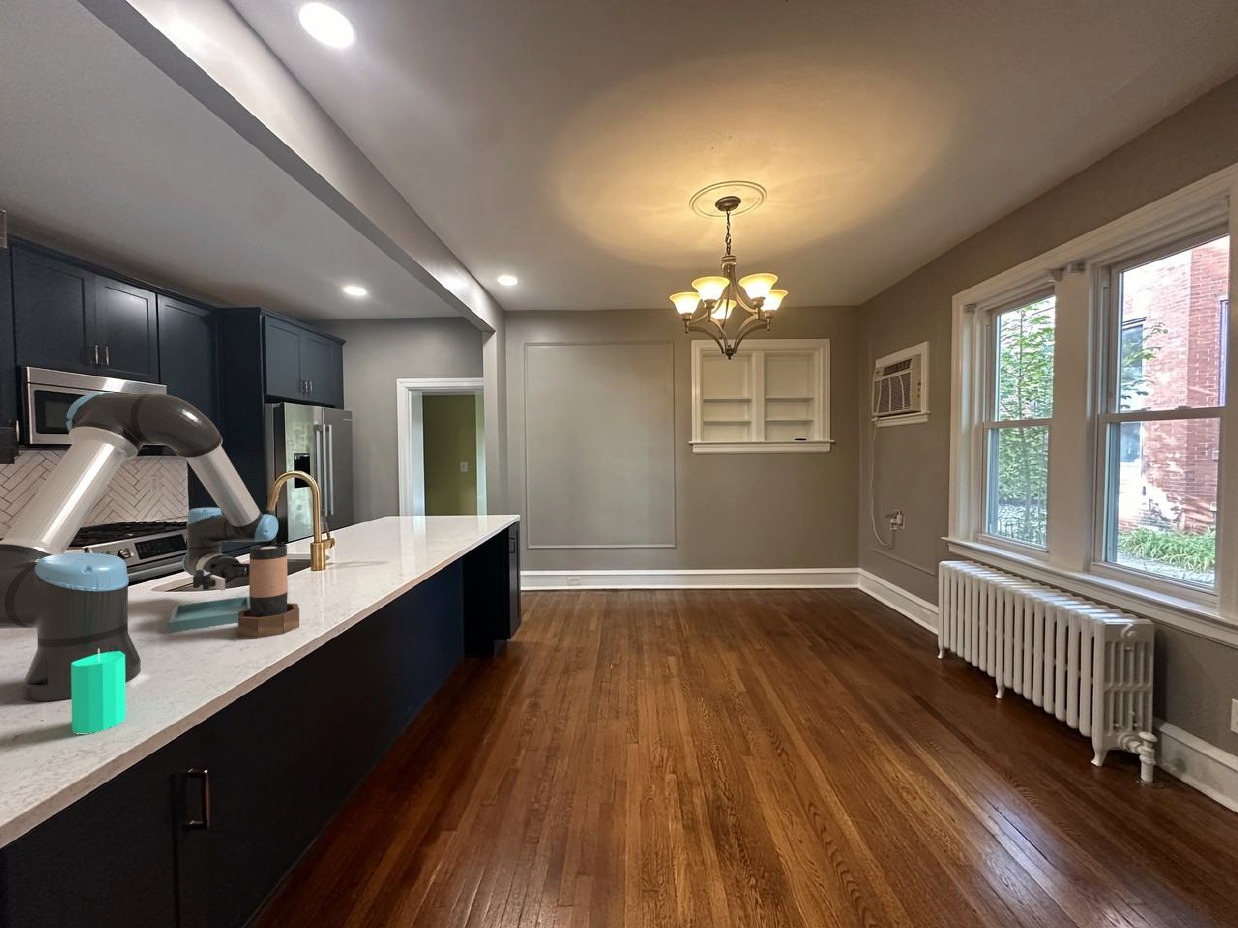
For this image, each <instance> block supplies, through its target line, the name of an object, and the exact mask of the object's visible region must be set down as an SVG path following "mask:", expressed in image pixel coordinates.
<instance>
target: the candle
mask: <svg viewBox="0 0 1238 928" xmlns="http://www.w3.org/2000/svg"><path fill="white" fill-rule="evenodd" d="M71 691H72V698H71V732H72V731H73V732H75V733H91V732H97V731H101V730H104V729H107V728H110V727H112V726H115V725H117V724H119V723H120V722H122V721H123V720H124V719H125V720H126V718H125V716H126V717H127V714H126V713H127V712H126V711H127V709H126V708H127V707H126V706H127V705H126V703H127V702H126V701H127V700H126V682H125V654H123V653H122V652H120V651H115V652H107V653H101V654H99V649H98V654H96V655H93V656H90V657H87V658H84V659H81V660H78V661H75V662H73V663H71ZM122 723H123V722H122ZM119 725H120V724H119ZM117 726H118V725H117ZM115 727H116V726H115ZM110 729H111V728H110ZM97 733H98V732H97Z"/></svg>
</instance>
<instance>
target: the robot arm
mask: <svg viewBox="0 0 1238 928" xmlns="http://www.w3.org/2000/svg"><path fill="white" fill-rule="evenodd" d="M66 418H67V419H68V421H66V427H67V430H68V438H69V440H70V441H71V442H72V444H71V446H70V447H69V448H68V449H67V451H66V452H65V454H64V455H63V456H62V458H61V459H60V460H59V462H58V464H57V465H56V466H55V467H54V469H53V470H52V472H50V474H49V476H48V477H47V478H46V480H45V481H44V482H43V484H42V485H41V486H40V487H39V489H38V490H37V492H36V494H35V495H34V496H33V497H32V499H31V501H29V503H28V505H27V506H26V507H25V509H24V510H23V511H22V512H21V514H20V516H19V517H18V518H17V519H16V521H15V522H14V523H13V525H12V527H11V528H10V529H9V531H8V532H7V533H6V535H5V536H4V537H3V539H2V540H0V629H37V630H36V634H37V635H36V636H37V648H36V652H35V655H34V656H33V659H32V661H31V663H30V666H29V668H28V671H27V673H26V675H25V678H24V681H23V684H22V697H23V698H24V699H25V700H29V701H35V702H37V701H40V702H43V701H44V702H46V701H56V700H57V701H58V700H59V701H60V700H65V699H72V691H71V663H73V662H75V661H78V660H81V659H84V658H87V657H90V656H93V655H96V654H98V649H99V654H101V653H107V652H115V651H120V652H122V653H123V654H125V683H126V682H129V681H130V680H133V679H134V678H136V677H137V676H138V675H140V673H141V670H142V669H141V667H142V665H141V662H142V661H141V658H140V655H139V653H138V651H137V650H136V649H137V648H136V647H135V645H134V642H133V641H132V639H131V637H130V635H129V626H128V625H129V616H128V614H129V613H128V612H129V606H128V605H129V575H128V570H127V569H128V568H127V564H126V562H125V560H124V559H123V558H121V557H120V556H118V555H115V554H108V553H101V552H82V553H79V552H69V553H65V552H66V551H67V549H68V547H69V546H70V545H71V543H72V542H73V539H74V538H75V537H76V535H77V533H78V532H79V530H80V529H81V527H82V525H83V524H84V523H85V521H86V519H87V518H88V516H89V515H90V513H91V511H92V510H93V508H94V507H95V505H96V503H97V502H98V501H99V499H100V498H101V496H102V494H103V493H104V491H105V489H107V486H108V485H109V483H110V482H111V481H112V479H113V478H114V476H115V474H116V472H117V470H119V468H120V466H121V465H122V463H123V462H125V461H129V460H133V459H135V458H136V457H137V456H138V454H139V453H140V451H141V449H143V448H142V447H143V446H144V445H164V446H167V447H169V448H171V449H172V450H173V451H174V453H175V454H176V455H177V457H179V458H182V459H185V460H186V461H187V463H188V464H189V465H190V467H191V469H192V470H193V471H194V473H195V474H196V476H197V477H198V479H199V480H200V482H201V483H202V485H203V486H204V487H205V489H206V491H207V492H208V494H209V495H210V497H211V498H212V499H213V501H214V502H215V504H216V505H217V507H199V508H198V507H197V508H196V507H195V508H192V509H190V510H189V511H188V512H187V518H186V519H187V522H186V539H187V543H186V544H187V548H186V553H185V554H184V556H183V558H182V559H181V560H182V561H181V566H182V569H183V570H184V571H185V572H186V573H187V574H188V575H190V576H192V588H193V589H198V588H200V587H201V586H202V590H203V591H206V590H207V591H208V590H210V588H212V589H215V590H218V591H221V592H222V591H226V584H228V583H231V582H232V581H234V580H235V579H239V578H249V577H250V562H249V563H241V562H240V561H239V560H238V559H237V558H236V557H235V556H231V555H227V554H225V553H222V543H223V542H224V543H226V542H228V543H229V542H231V543H233V542H234V543H236V542H237V543H239V542H240V543H247V542H248V543H258V542H270V541H272V540H273V539H274V538H275V537H277V534H278V531H279V521H278V519H277V517H275V516H274V515H272V514H268V513H266V514H263V513H262V512H261V509H259V507H258V505H257V504H256V502H255V500H254V498H253V497H252V496H251V493H250V492H249V491H248V489H247V487H246V485H245V483H244V482H243V480H242V479H241V477H240V475H239V473H238V472H237V470H236V468H235V467H234V464H233V463H232V461H231V460H230V458H229V457H228V455H227V453H226V452H225V449H224V448H223V447H222V444H223V437H222V435H221V434H220V432H219V430H218V428H217V427H216V425H214V423H213V422H212V421H211V420H210V419H209V417H207V416H206V415H205V414H204V413H202V412H201V411H200V410H199V409H198V408H196V407H195V406H194V405H192V404H191V403H189V402H188V401H186V400H183V399H181V398H180V397H177V396H175V395H174V396H173V395H170V394H165V393H128V392H127V393H124V392H123V393H122V392H115V391H108V392H107V391H106V392H98V393H88V394H86V395H83V396H81V397H79V398H78V399H77V400H75V401H74V402H73V403H72V404H71V406H70V407H69V409H68V411H67V414H66Z"/></svg>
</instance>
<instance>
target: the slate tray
mask: <svg viewBox="0 0 1238 928" xmlns="http://www.w3.org/2000/svg"><path fill="white" fill-rule="evenodd" d="M249 597H250V596H249V595H248V596H241V597H233V598H227V599H224V598H223V599H217V600H211V601H210V600H209V601H202V602H195V603H194V602H193V603H187V604H179V605H178V604H177V605H174V607H173V608H172V609H173V610H172V611H171V615H170V617H169V621H168V633H169V634H171V633H177V631H179V632H184V631H183V630H185V631H191V630H190V629H192V630H197V629H198V628H199V629H204V628H205V629H206V628H210V626H212V627H216V625H218V626H224V624H225V625H229V624H230V625H231V624H236V623H237V624H238V612H240V611H243V610H246V609H249V608H250V598H249Z"/></svg>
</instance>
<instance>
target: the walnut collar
mask: <svg viewBox="0 0 1238 928" xmlns="http://www.w3.org/2000/svg"><path fill="white" fill-rule="evenodd" d="M297 628H300V608H299V604H298V603H290V602H287V612H285V613H283V614H279V615H272V616H265V617H250V608H249V609H246V610H243V611H240V612H238V623H237V635H238V636H237V637H238V638H248V639H261V638H267V637H273V636H279V635H280V636H281V635H285V634H286V633H288V632H291V631H293V630H296V629H297Z"/></svg>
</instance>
